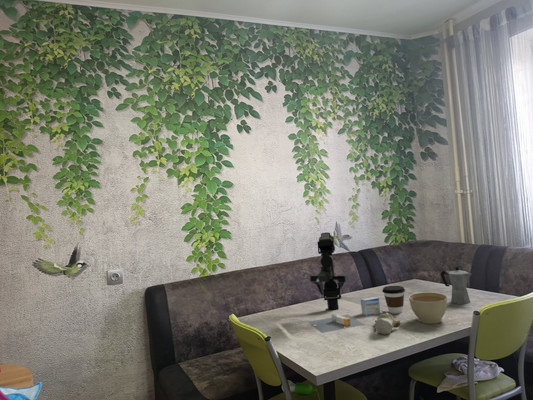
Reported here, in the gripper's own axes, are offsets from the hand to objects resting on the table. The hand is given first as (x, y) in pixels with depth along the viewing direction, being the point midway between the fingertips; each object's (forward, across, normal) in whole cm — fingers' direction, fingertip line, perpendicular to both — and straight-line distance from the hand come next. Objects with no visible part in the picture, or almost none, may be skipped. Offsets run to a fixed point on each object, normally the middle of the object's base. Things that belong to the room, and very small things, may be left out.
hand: (330, 295), depth 196 cm
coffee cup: (+12, +26, +18) cm, 34 cm away
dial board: (+12, +5, -9) cm, 16 cm away
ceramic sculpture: (+12, +28, -10) cm, 32 cm away
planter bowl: (+12, +44, +7) cm, 46 cm away
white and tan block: (+10, +7, -9) cm, 15 cm away
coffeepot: (+12, +52, +41) cm, 68 cm away
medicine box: (+12, +16, +9) cm, 22 cm away
